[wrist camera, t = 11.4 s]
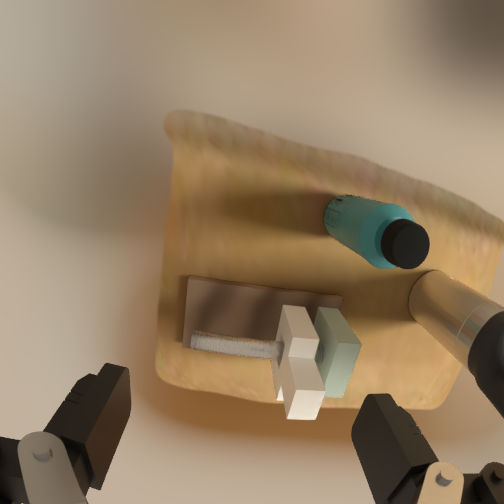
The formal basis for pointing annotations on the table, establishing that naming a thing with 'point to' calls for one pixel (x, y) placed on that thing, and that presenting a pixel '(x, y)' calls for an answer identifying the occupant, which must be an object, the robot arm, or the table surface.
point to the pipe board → (244, 308)
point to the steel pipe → (244, 346)
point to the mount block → (336, 350)
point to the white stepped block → (298, 365)
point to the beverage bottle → (377, 231)
